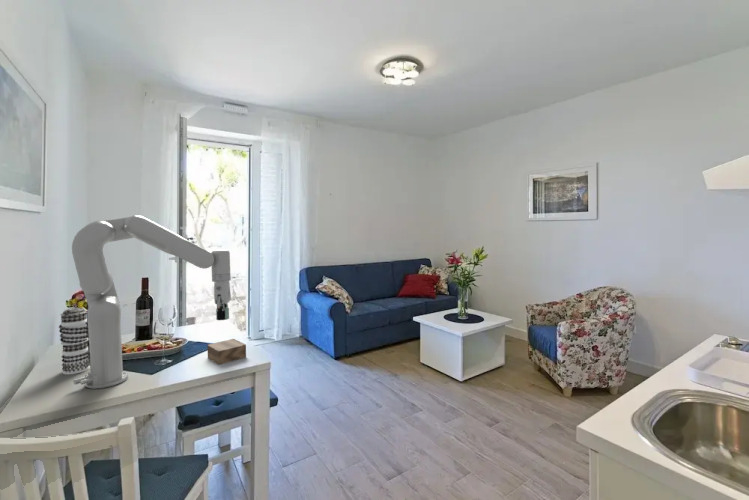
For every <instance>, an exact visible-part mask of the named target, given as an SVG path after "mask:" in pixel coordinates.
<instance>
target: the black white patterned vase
mask: <svg viewBox="0 0 749 500" xmlns="http://www.w3.org/2000/svg"><path fill="white" fill-rule="evenodd" d="M87 312H88V310H85V309H84V308H83V307H73V308H68V309H67V308H66V309H64V311H63V312H62V313H60V318H61V319H60V325H58V328H59V330H58V331H59V333H60V335H59V337H60V339H59V340H60V342H61V344H60V345H62V350H61V351H62V352H61V353H62V354H61V358H62V359H61V362H62V364H61V366H62V374H63V375H75V374H79V373H80V374H81V373H83V372H86V371H88V370H90V350H89V346H88V342H89V332H88V321H87Z"/></svg>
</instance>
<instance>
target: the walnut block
mask: <svg viewBox="0 0 749 500" xmlns="http://www.w3.org/2000/svg"><path fill="white" fill-rule="evenodd" d="M206 349H207V358H208V360H209V359H210V360H211V361H213V362H214V363H216V364H217V365H223V364H227V363H230V362H233V361H237V360H241V359H244V358H247V345H246V344H245V343H243V342H241V341H239V340H238V339H236V338H232V339H227V340H223V341H218V342H214V343H210V344H207V348H206Z"/></svg>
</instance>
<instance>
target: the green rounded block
mask: <svg viewBox="0 0 749 500" xmlns="http://www.w3.org/2000/svg"><path fill="white" fill-rule="evenodd" d="M224 310H225V320H228V319H230V307H228V308H227V307H224ZM215 315H216V316H215V317H216V320H217V308H215ZM225 320H224V321H225ZM217 321H218V320H217Z"/></svg>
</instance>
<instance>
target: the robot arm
mask: <svg viewBox="0 0 749 500" xmlns="http://www.w3.org/2000/svg"><path fill="white" fill-rule="evenodd" d="M133 238H135V239H136V240H139V241H141V242H143V243H144V244H147V245H150V246H151V247H153V248H155V249H157V250H159V251H161V252H164V253H165V254H167V255H172V256H174V257H177V258H179V259H180V260H183V261H185V262H188V263H189V264H192V265H193V266H195V267H197V268H199V269H203V270H204V269H205V270H206V269H208V268H211V282H213V283H214V286H213V290H214V291H213V293H214V295H213V297H214V304H215V305H216V309H217V321H225V310H224V307H227V308H229V306H228V305H229V304H228V303H229V302H230V301H231V299H232V298H231V296H232V295H231V284H230V281H231V280H232V278H231V255H230V254H231V253H230V251H229V250H228V249H226V248H225V249H223V248H222V249H209V250H208V249H206V248H203V247H201V246H200V245H198V244H196V243H194V242H192V241H189V240H187V239H186V238H184V237H182V236H181V235H179V234H177V233H175V232H173V231H171V230H169V229H168V228H166V227H164V226H162V225H160V224H158V223H156V222H155V221H152V220H151V219H149V218H146V217H144V216H143V215H132V216H126V217H121V218H120V217H119V218H115V219H108V220H95V221H92V222H90V223H89V224H86V225H85V226H83V227H82V228H81V229H80V230H79V231H77V232H76V234H75V236H74V237H73V239H72V240H73V241H72V242H71V254H72V258H73V261H74V265H75V270H76V274H77V275H78V276H77V277H78V280H79V286H80V288H81V291H82V292H83V293H84V296H85V297H84V298H85V300H86V303H87V307H88V308H87V312H86V318H87V321H88V324H87V326H88V329H87V330H88V335H89V337H88V339H89V340H88V343H89V346H88V351H89V359H90V361H89V363H90V365H89V366H90V368H89V370H90V371H88V372H87V374H86V375H84V376H82V377H77V378H74V379H73V384H74V385H79V384H81V385H85V387H86V388H88V389H95V390H96V389H97V390H98V389H104V388H109V387H114V386H116V385H119V384H121V383H124V382H125V381H126V380H127V379H128V378H129V374H128V373H127V372H126V371H124V370H123V369H124V368H123V347H122V345H123V344H122V325H121V323H122V322H121V321H122V317H121V316H122V313H121V312H122V311H121V310H122V309H121V305H120V301H119V296H118V293H117V289H116V286H115V283H114V279H113V276H112V274H111V273H110V271H109V270H108V267H107V264H106V260H105V255H104V251H103V250H104V249H103V248H104V246H105V245H106V244H108V243H112V242H117V241H124V240H129V239H133Z"/></svg>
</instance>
